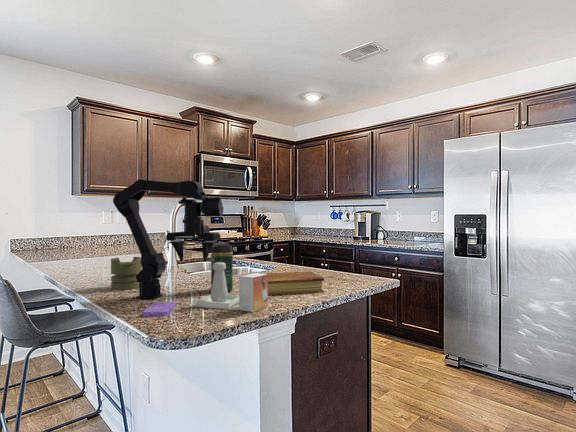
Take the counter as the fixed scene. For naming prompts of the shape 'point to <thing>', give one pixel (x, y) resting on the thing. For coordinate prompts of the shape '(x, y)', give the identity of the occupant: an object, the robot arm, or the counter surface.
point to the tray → (208, 302)
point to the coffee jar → (225, 255)
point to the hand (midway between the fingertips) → (193, 261)
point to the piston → (125, 274)
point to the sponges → (159, 309)
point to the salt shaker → (219, 283)
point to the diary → (294, 283)
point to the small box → (253, 292)
